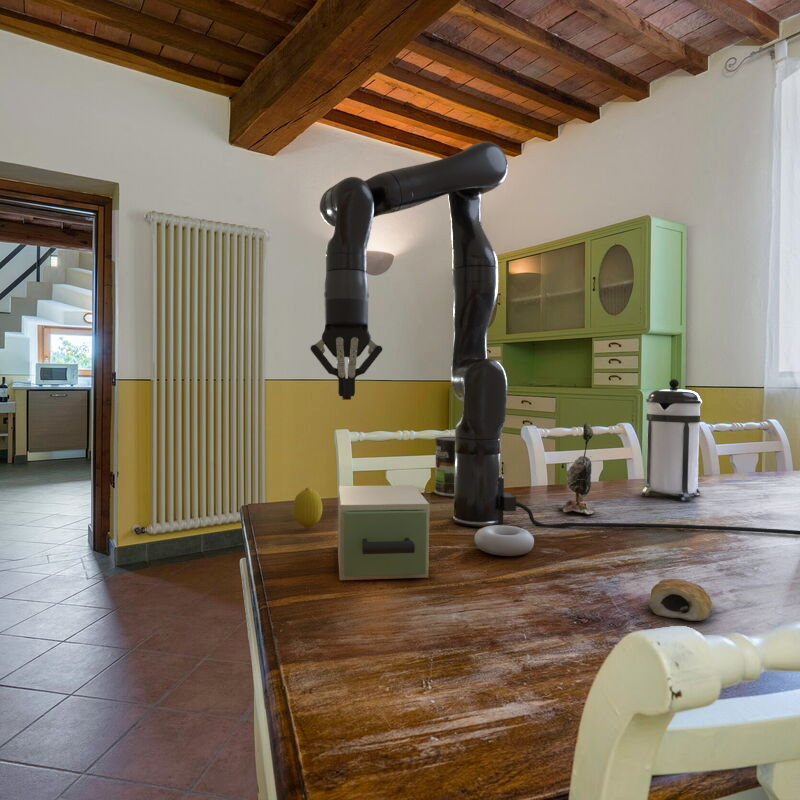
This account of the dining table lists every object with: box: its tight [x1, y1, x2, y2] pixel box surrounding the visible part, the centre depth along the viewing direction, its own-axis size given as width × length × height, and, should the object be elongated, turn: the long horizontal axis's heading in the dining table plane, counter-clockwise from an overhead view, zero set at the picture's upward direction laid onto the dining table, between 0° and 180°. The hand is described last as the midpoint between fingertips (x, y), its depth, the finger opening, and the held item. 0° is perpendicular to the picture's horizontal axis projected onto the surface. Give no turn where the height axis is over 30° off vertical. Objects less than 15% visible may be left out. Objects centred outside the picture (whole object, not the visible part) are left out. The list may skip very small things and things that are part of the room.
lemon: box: [292, 487, 323, 530], centre depth 108 cm, size 6×6×8 cm
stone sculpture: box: [558, 422, 596, 515], centre depth 127 cm, size 8×11×20 cm
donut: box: [473, 524, 535, 557], centre depth 96 cm, size 10×4×10 cm
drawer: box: [344, 510, 427, 576], centre depth 85 cm, size 18×12×9 cm, turn 7°
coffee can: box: [434, 436, 455, 498], centre depth 146 cm, size 10×10×14 cm
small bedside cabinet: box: [337, 484, 430, 581], centre depth 89 cm, size 15×13×11 cm
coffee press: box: [641, 378, 703, 503], centre depth 146 cm, size 17×16×30 cm
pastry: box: [647, 578, 713, 622], centre depth 72 cm, size 9×7×4 cm
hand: (346, 399), depth 99 cm, fingers closed
